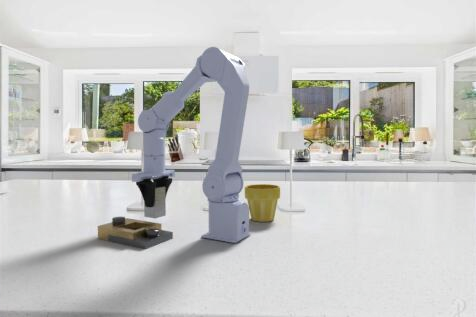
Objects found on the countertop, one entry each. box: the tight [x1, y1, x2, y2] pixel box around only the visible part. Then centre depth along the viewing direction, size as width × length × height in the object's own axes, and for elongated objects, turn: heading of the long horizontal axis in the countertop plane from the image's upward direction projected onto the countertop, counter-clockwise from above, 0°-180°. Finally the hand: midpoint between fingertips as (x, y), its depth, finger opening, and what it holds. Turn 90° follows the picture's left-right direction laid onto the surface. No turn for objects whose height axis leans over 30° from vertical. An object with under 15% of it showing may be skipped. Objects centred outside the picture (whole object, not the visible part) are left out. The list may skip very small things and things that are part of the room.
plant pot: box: [244, 183, 281, 223], centre depth 99 cm, size 10×10×10 cm
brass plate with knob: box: [97, 216, 174, 250], centre depth 80 cm, size 15×9×4 cm, turn 61°
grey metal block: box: [143, 186, 167, 219], centre depth 92 cm, size 4×4×8 cm
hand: (155, 205), depth 92 cm, fingers closed on grey metal block, 4 cm apart
